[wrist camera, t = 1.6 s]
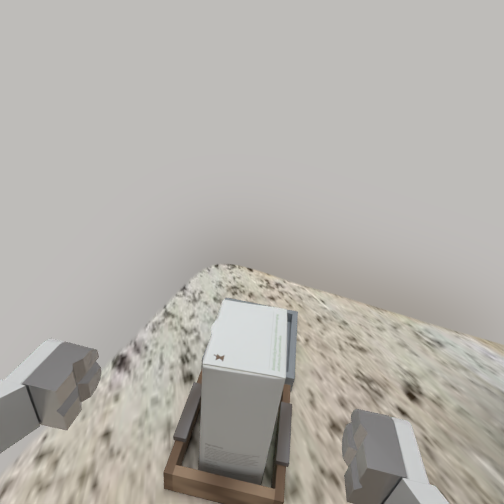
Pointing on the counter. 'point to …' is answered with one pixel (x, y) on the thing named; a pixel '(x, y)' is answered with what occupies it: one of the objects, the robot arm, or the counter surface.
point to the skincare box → (242, 389)
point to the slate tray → (290, 343)
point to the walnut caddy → (219, 487)
